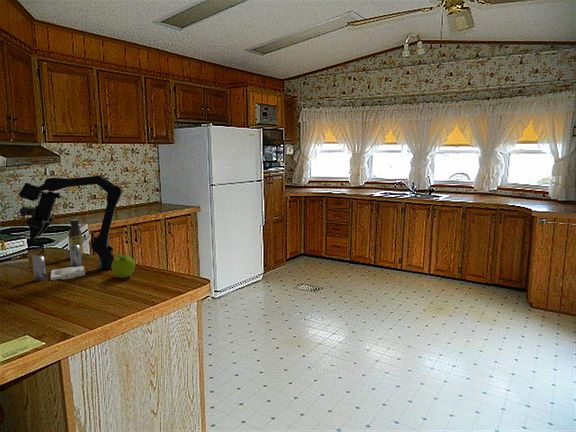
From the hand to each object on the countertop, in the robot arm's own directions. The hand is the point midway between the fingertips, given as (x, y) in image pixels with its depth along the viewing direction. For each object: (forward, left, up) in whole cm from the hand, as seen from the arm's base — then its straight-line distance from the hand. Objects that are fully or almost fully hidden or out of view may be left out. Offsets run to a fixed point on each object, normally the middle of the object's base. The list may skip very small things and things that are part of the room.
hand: (34, 238), depth 177 cm
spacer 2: (-1, -17, -17) cm, 24 cm away
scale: (-12, -7, -17) cm, 21 cm away
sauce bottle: (+15, -27, -17) cm, 35 cm away
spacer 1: (-8, +3, -17) cm, 19 cm away
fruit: (-38, -16, -17) cm, 44 cm away
